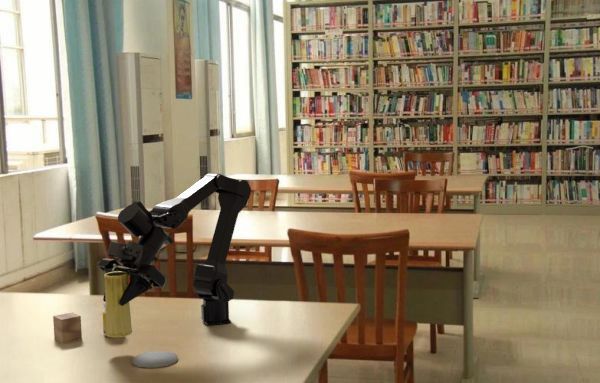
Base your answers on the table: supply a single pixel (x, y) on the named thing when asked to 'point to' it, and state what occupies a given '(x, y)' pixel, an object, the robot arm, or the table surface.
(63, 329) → the walnut block
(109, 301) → the vase
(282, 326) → the table surface
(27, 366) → the table surface
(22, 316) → the table surface
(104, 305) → the supplement bottle
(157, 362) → the mat
